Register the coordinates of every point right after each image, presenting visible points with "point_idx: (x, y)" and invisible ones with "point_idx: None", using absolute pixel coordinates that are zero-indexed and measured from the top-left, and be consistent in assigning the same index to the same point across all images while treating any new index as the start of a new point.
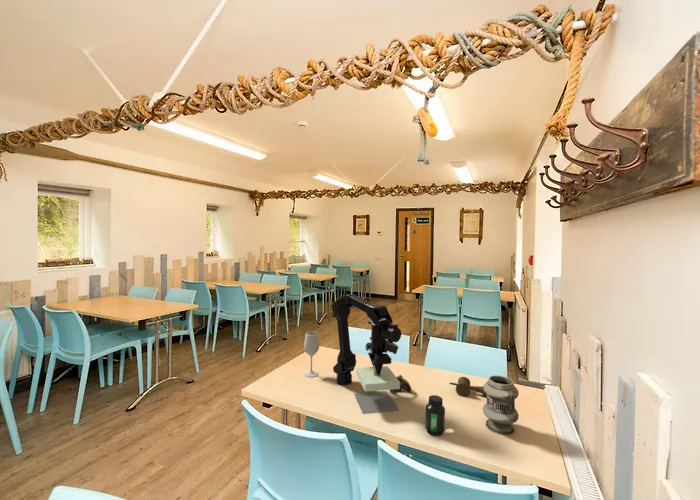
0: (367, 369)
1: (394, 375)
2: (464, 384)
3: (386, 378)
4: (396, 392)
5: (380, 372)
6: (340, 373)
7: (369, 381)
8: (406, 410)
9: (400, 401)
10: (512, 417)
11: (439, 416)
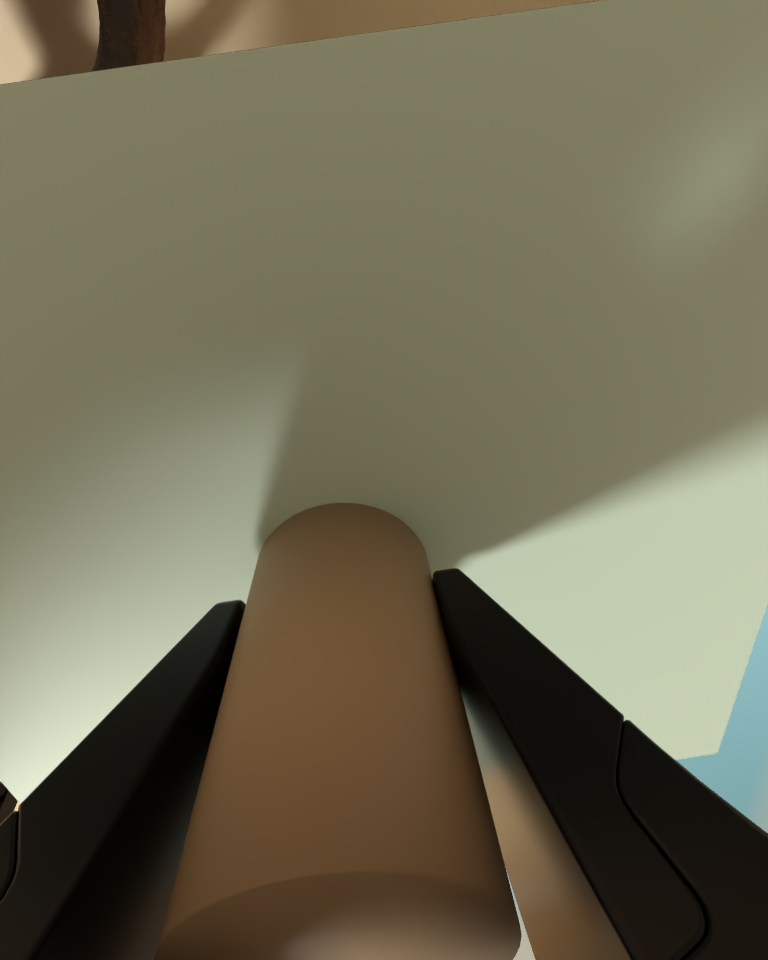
0: (76, 724)
1: (406, 48)
2: None
3: (591, 393)
4: (161, 56)
5: (404, 565)
6: (12, 806)
7: (638, 707)
8: (530, 3)
9: (284, 33)
10: None
11: None
